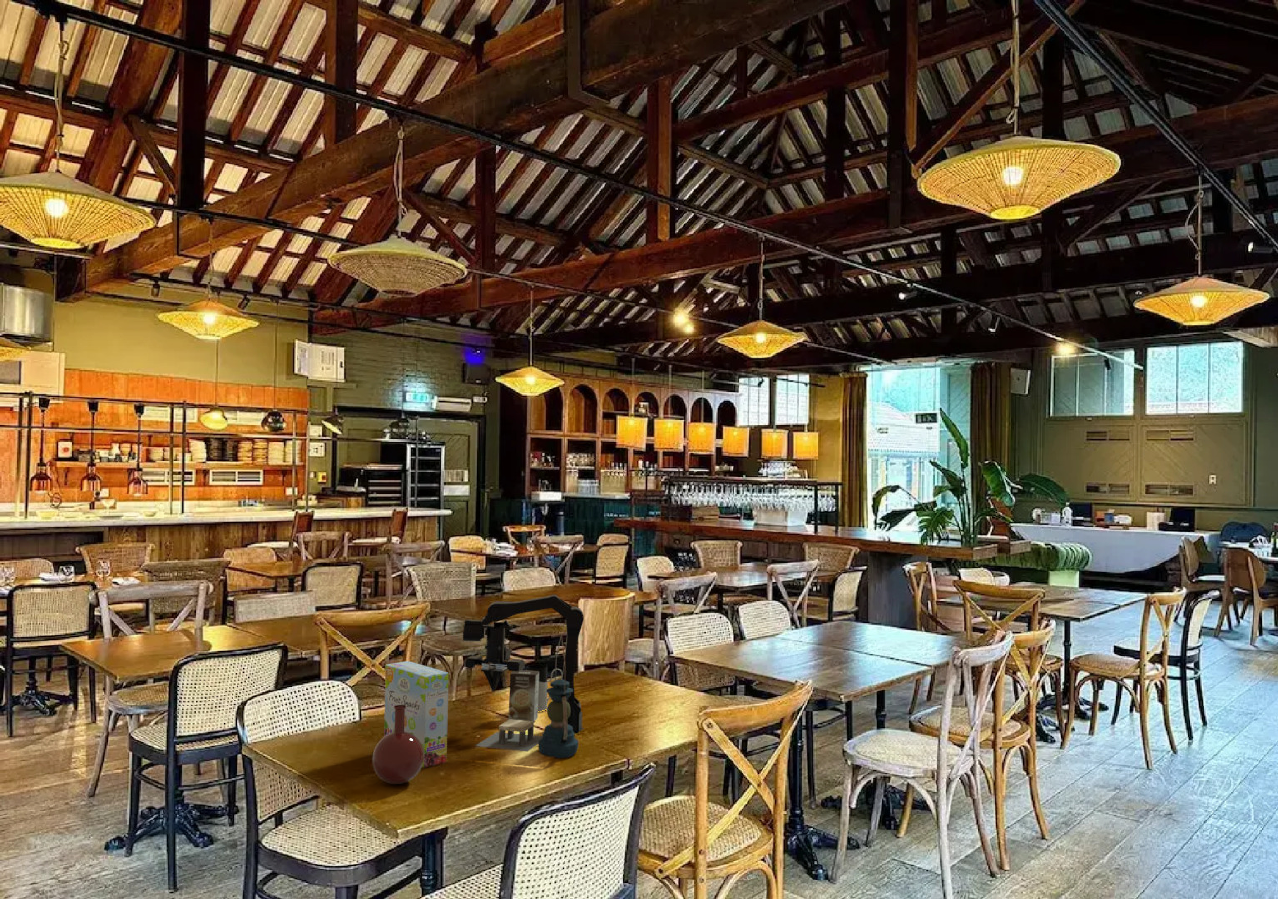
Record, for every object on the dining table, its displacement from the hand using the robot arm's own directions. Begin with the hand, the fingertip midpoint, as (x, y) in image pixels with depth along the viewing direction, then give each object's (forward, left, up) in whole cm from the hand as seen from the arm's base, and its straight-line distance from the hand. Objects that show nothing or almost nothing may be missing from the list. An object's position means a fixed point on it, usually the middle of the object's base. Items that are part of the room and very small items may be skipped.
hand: (493, 690), depth 281 cm
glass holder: (-5, -33, -13) cm, 36 cm away
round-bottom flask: (+3, +52, -13) cm, 54 cm away
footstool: (-8, +9, -10) cm, 16 cm away
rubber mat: (-11, +9, -13) cm, 19 cm away
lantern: (-28, +14, -13) cm, 34 cm away
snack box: (+10, +31, -13) cm, 35 cm away
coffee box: (-4, -17, -13) cm, 22 cm away
